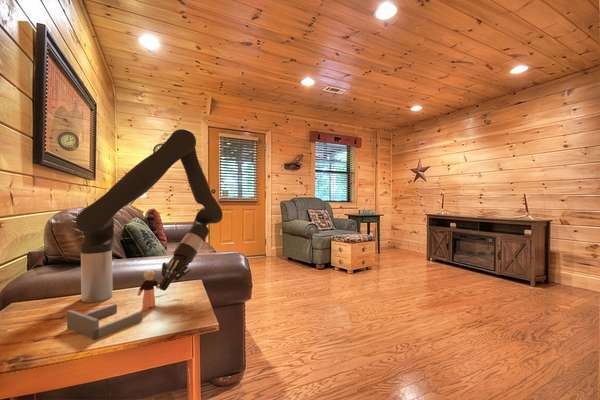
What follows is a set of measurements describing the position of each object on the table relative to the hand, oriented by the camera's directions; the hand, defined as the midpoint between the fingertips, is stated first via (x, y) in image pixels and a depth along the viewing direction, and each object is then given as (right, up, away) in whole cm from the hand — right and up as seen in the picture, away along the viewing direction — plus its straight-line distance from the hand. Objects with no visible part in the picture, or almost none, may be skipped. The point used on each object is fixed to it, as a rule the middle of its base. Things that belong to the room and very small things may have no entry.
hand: (161, 289), depth 99 cm
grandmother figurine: (-2, -5, -4) cm, 7 cm away
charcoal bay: (-8, -5, -15) cm, 18 cm away
